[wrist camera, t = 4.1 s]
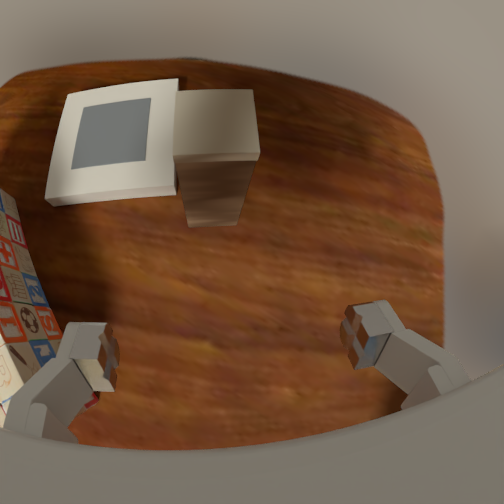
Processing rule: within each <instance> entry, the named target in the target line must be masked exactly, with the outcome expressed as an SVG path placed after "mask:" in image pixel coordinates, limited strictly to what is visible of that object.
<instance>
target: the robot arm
mask: <svg viewBox="0 0 504 504" xmlns="http://www.w3.org/2000/svg"><path fill="white" fill-rule="evenodd" d="M345 315H346V318H345V319H344V320H343V321H342V322H341V326H340V339H341V342H342V344H343V347H345V348H346V349H348V350H349V354H348V358H349V360H350V362H351V364H352V366H353V368H354V370H356V369H361V368H366V367H371V366H374V367H375V368H376V369H377V370H379V371H380V372H381V373H382V374H383V375H385V376H386V377H387V378H388V379H389V380H391V381H392V382H393V383H394V384H396V385H397V386H398V387H399V388H400V389H402V390H403V391H404V392H405V393H407V394H408V396H407V398H406V399H405V400H404V401H403V403H402V405H401V409H402V410H401V411H399V412H396V413H393V414H390V415H387V416H384V417H381V418H377V419H374V420H371V421H368V422H364V423H361V424H357V425H353V426H350V427H346V428H342V429H338V430H334V431H330V432H326V433H321V434H317V435H312V436H307V437H302V438H297V439H291V440H285V441H279V442H273V443H266V444H259V445H251V446H242V447H232V448H219V449H203V450H135V449H119V448H107V447H98V446H89V445H82V444H78V439H77V438H76V436H75V435H74V434H73V433H72V432H71V431H70V430H69V429H68V428H67V427H68V426H69V424H70V423H71V422H72V420H73V419H74V418H75V416H76V415H77V413H78V412H79V411H80V409H81V408H82V407H83V405H84V404H85V403H86V401H87V400H88V399H89V397H90V396H91V395H92V393H93V391H115V388H116V381H117V374H116V372H115V369H116V368H117V367H118V365H119V360H120V353H119V346H118V343H117V340H116V339H115V338H114V337H113V336H112V331H113V330H112V328H111V325H110V324H109V323H95V322H69V323H68V324H67V325H66V328H65V331H64V334H63V337H62V340H61V343H60V346H59V349H58V352H57V355H56V358H52V359H50V360H49V361H48V362H47V363H46V364H45V365H44V366H43V367H42V368H41V369H40V370H39V371H38V372H37V373H35V374H34V375H33V376H32V377H31V378H30V379H29V380H28V381H27V382H26V383H25V384H24V385H23V386H22V387H21V388H20V389H19V390H18V391H17V392H16V393H15V394H14V395H13V396H12V397H11V399H10V403H9V406H8V410H7V413H6V417H5V421H4V425H3V428H1V427H0V504H504V364H503V365H501V366H499V367H497V368H495V369H494V370H492V371H490V372H488V373H486V374H484V375H482V376H480V377H478V378H477V379H474V380H472V381H471V379H470V377H469V376H468V374H467V372H466V371H465V369H464V368H463V366H462V365H461V363H460V361H459V360H458V358H457V357H456V356H454V355H453V354H451V353H449V352H448V351H446V350H444V349H443V348H441V347H439V346H437V345H436V344H434V343H432V342H431V341H429V340H427V339H426V338H424V337H422V336H420V335H419V334H417V333H415V332H414V331H412V330H410V329H407V330H406V329H405V327H404V325H403V324H402V322H401V321H400V319H399V318H398V316H397V315H396V313H395V312H394V310H393V309H392V307H391V306H390V304H389V303H388V302H387V301H386V300H379V301H373V302H366V303H360V304H353V305H348V306H347V308H346V310H345Z"/></svg>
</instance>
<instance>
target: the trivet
mask: <svg viewBox="0 0 504 504" xmlns="http://www.w3.org/2000/svg"><path fill="white" fill-rule="evenodd" d="M176 91H179V82H178V79H165V80H154V81H144V82H136V83H128V84H121V85H115V86H108V87H103V88H97V89H92V90H86V91H81V92H77V93H72V94H68V96H67V99H66V103H65V106H64V109H63V113H62V116H61V120H60V124H59V128H58V132H57V136H56V140H55V144H54V149H53V153H52V158H51V163H50V169H49V174H48V180H47V186H46V193H45V200H46V201H48V202H49V203H50V204H51V205H53V206H62V205H70V204H79V203H88V202H97V201H107V200H117V199H128V198H140V197H152V196H166V195H176V164H174V160H173V128H174V109H175V93H176Z"/></svg>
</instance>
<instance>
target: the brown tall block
mask: <svg viewBox="0 0 504 504" xmlns="http://www.w3.org/2000/svg"><path fill="white" fill-rule="evenodd" d="M259 155H260V146H259V137H258V129H257V120H256V112H255V104H254V96H253V90H251V89H213V90H187V91H176V93H175V109H174V128H173V160H174V164H176V170H177V175H178V180H179V185H180V189H181V194H182V199H183V204H184V208H185V213H186V218H187V222H188V227H189V228H191V227H209V226H229V225H237V222H238V219H239V216H240V212H241V209H242V206H243V202H244V199H245V196H246V192H247V189H248V186H249V183H250V179H251V176H252V173H253V170H254V167H255V163H256V161H258V158H259Z"/></svg>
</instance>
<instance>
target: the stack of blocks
mask: <svg viewBox="0 0 504 504" xmlns="http://www.w3.org/2000/svg"><path fill="white" fill-rule="evenodd" d="M62 337H63V334H62V332H61V330H60V327H59V325H58V323H57V321H56V319H55V316H54V314H53V312H52V310H51V308H50V307H49V304H48V302H47V300H46V297H45V295H44V292H43V290H42V287H41V285H40V282H39V279H38V278H37V275H36V272H35V269H34V266H33V263H32V261H31V258H30V255H29V252H28V247H27V243H26V240H25V237H24V233H23V230H22V226H21V223H20V218H19V214H18V210H17V206H16V202H15V199H14V198H13V197H12V196H10V195H8V194H7V193H6V192H5V191H3V190H2V189H0V427H1V428H3V425H4V421H5V417H6V413H7V410H8V406H9V403H10V399H11V397H12V396H13V395H14V394H15V393H16V392H17V391H18V390H19V389H20V388H21V387H22V386H23V385H24V384H25V383H26V382H27V381H28V380H29V379H30V378H31V377H32V376H33V375H34V374H35V373H37V372H38V371H39V370H40V369H41V368H42V367H43V366H44V365H45V364H46V363H47V362H48V361H49V360H50V359H52V358H56V355H57V352H58V349H59V346H60V343H61V340H62ZM98 401H99V400H98V398H97V397H96V395H95V394H94V392H93V393H92V395H91V396H90V397H89V399H88V400H87V401H86V403H85V404H84V405H83V407H82V408H81V409H80V411H79V412H78V413H77V415H76V416H75V418H76V417H78V416H79V415H80V414H82V413H83V412H85V411H86V410H87V409H88V408H90V407H92V406H93V405H95V404H96V403H97V402H98Z"/></svg>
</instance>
